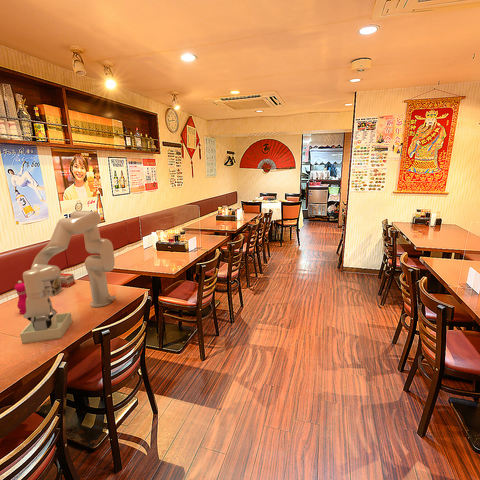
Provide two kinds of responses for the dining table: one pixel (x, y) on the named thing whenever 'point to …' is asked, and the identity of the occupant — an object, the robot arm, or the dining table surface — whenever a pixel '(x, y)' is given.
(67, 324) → the tote
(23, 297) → the pepper mill
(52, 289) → the coffee box
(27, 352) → the dining table surface
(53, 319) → the shot glass
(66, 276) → the medicine box
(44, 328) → the cube
